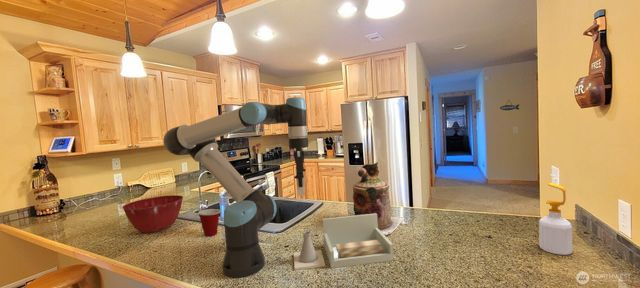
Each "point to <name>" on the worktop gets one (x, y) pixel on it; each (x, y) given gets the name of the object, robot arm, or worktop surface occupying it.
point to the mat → (306, 265)
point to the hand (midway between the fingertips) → (301, 191)
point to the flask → (307, 249)
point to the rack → (355, 238)
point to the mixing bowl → (153, 213)
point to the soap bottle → (555, 228)
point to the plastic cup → (209, 221)
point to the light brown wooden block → (359, 249)
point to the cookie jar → (374, 199)
